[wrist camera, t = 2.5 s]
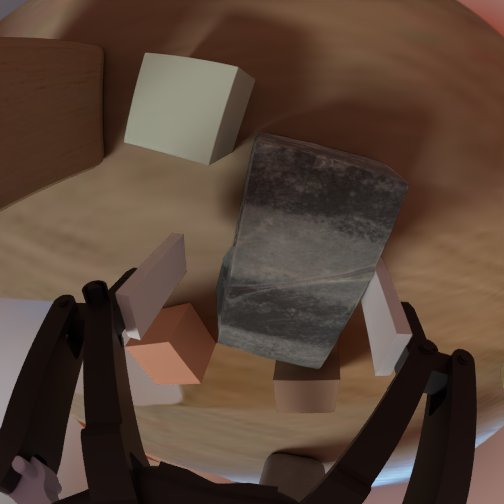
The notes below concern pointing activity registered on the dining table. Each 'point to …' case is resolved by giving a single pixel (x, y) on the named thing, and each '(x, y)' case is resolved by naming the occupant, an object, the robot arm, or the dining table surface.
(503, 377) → the potted cactus
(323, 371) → the walnut cube
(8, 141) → the wooden block
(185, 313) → the terracotta cube
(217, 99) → the sage cube
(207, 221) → the dining table surface
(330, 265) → the stone block
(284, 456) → the vase
